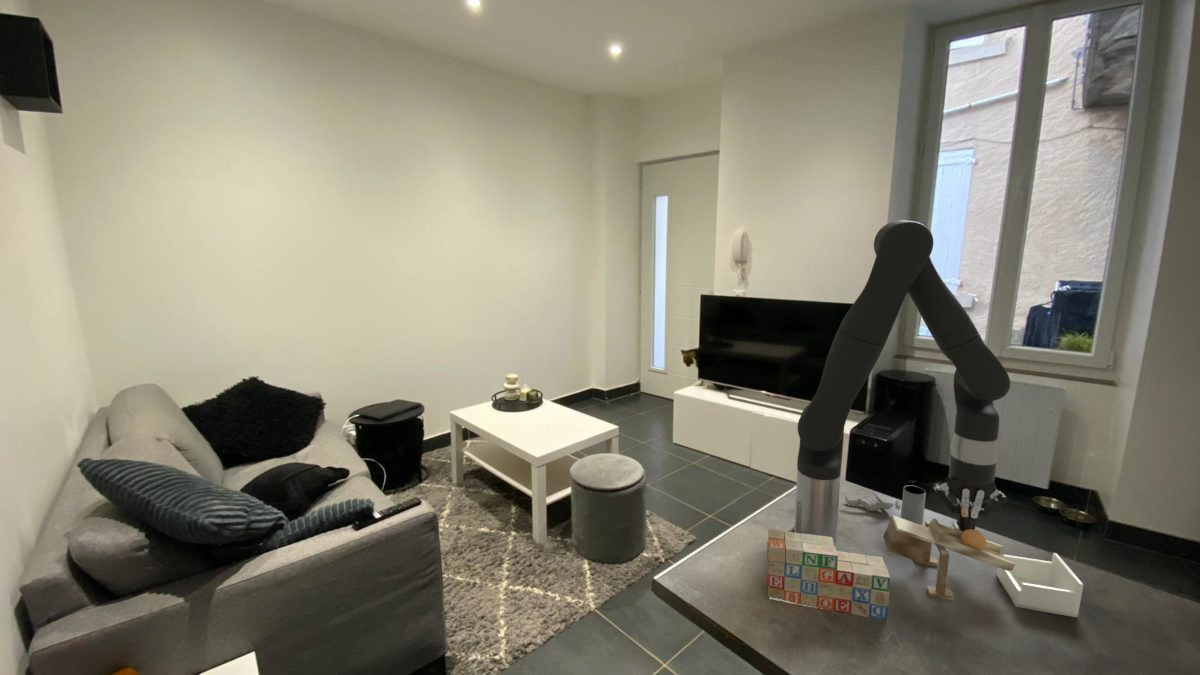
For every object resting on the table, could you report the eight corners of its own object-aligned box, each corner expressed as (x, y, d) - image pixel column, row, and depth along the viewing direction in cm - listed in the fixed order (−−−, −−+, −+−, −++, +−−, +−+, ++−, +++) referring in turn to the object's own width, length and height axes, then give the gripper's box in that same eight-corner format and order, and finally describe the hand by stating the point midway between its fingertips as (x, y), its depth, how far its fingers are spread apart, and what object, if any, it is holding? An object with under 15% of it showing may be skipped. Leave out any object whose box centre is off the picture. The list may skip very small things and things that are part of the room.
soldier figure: (846, 502, 132) (894, 494, 127) (852, 520, 129) (902, 512, 125) (844, 493, 126) (894, 485, 122) (850, 512, 123) (902, 504, 119)
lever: (889, 555, 99) (904, 522, 96) (877, 519, 111) (890, 490, 108) (1001, 597, 93) (1019, 564, 91) (976, 555, 105) (992, 525, 103)
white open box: (1015, 606, 92) (1020, 574, 91) (996, 574, 101) (1000, 545, 99) (1077, 617, 89) (1083, 584, 88) (1051, 584, 97) (1056, 553, 96)
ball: (978, 533, 94) (994, 548, 94) (970, 521, 98) (986, 536, 97) (959, 543, 96) (975, 558, 95) (953, 532, 99) (968, 546, 99)
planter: (918, 524, 118) (922, 486, 116) (924, 535, 114) (928, 496, 112) (897, 521, 120) (901, 484, 118) (902, 532, 116) (906, 493, 114)
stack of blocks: (879, 598, 96) (884, 543, 93) (887, 621, 90) (892, 564, 88) (766, 579, 102) (767, 527, 100) (766, 600, 97) (768, 546, 94)
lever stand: (929, 596, 96) (934, 553, 94) (913, 557, 107) (917, 518, 105) (953, 600, 94) (958, 557, 92) (934, 560, 106) (939, 521, 104)
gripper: (940, 459, 98) (934, 536, 102) (1021, 467, 94) (1011, 546, 97) (930, 444, 105) (924, 516, 109) (1004, 450, 100) (996, 525, 104)
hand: (965, 530), depth 103 cm, fingers closed
